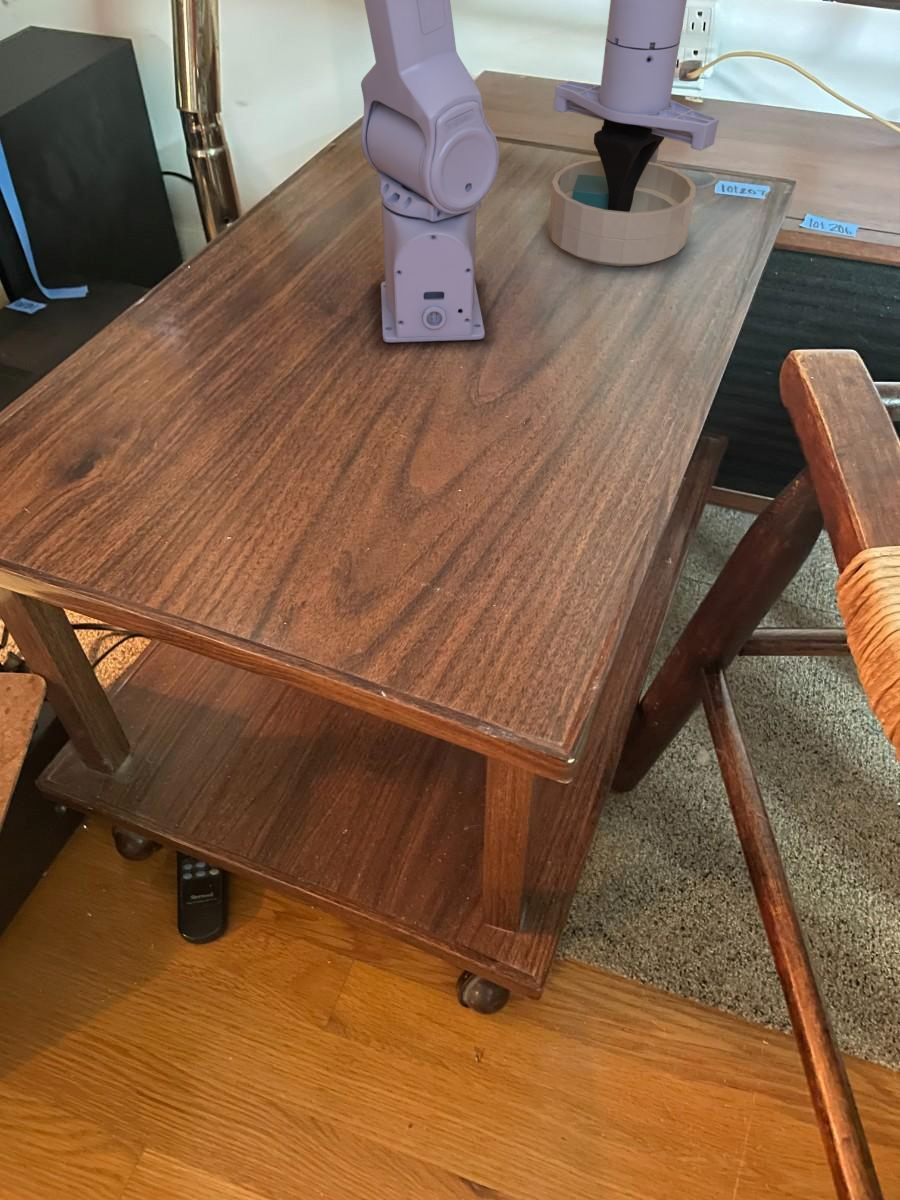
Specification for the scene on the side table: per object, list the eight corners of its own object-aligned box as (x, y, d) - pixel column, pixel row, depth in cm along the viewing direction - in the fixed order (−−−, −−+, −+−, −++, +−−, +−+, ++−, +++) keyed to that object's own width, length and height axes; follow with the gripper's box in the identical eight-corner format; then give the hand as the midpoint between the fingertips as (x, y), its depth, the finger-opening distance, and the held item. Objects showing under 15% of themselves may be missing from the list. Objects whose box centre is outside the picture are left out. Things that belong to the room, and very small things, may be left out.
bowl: (700, 268, 78) (712, 211, 75) (559, 273, 78) (565, 215, 74) (666, 209, 87) (675, 156, 84) (539, 213, 86) (543, 159, 83)
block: (612, 239, 81) (617, 194, 78) (568, 235, 82) (572, 190, 79) (616, 221, 84) (622, 177, 81) (574, 217, 84) (578, 174, 82)
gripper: (751, 46, 68) (713, 223, 78) (595, 13, 75) (577, 180, 84) (705, 67, 64) (671, 249, 74) (544, 30, 71) (532, 203, 81)
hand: (618, 214), depth 79 cm, fingers closed, pressing on block
